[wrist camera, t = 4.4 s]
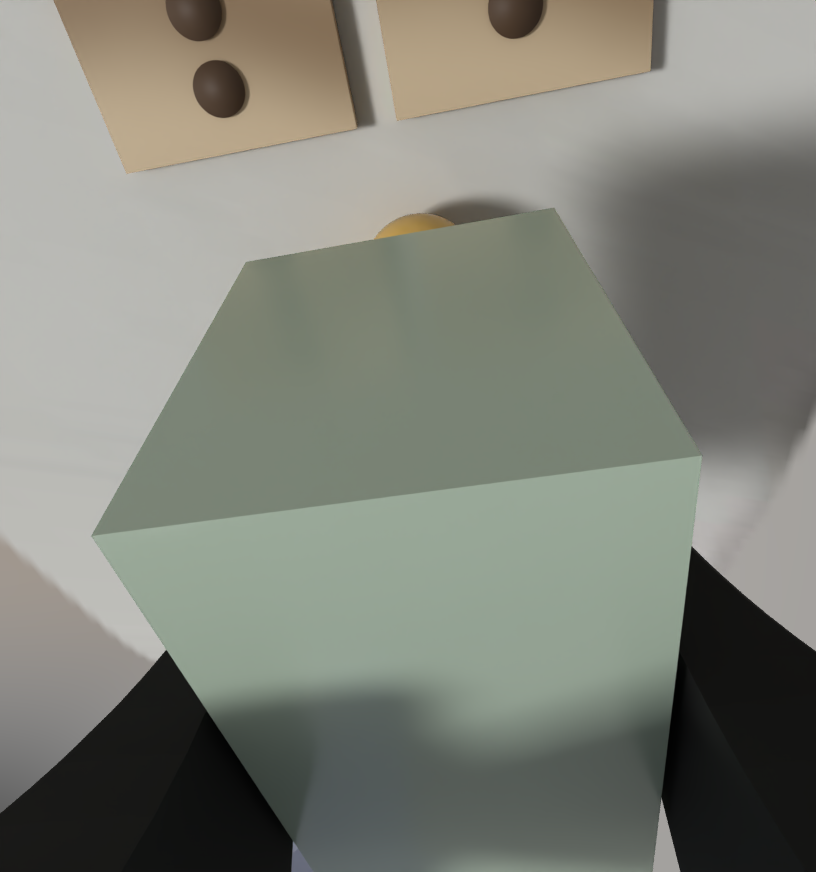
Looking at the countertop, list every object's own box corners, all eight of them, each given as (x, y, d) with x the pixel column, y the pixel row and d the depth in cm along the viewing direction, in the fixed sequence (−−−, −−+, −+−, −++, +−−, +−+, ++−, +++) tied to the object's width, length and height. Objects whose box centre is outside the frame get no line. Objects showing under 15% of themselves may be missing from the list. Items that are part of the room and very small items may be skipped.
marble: (479, 293, 19) (490, 342, 16) (378, 310, 19) (374, 360, 16) (467, 188, 17) (476, 226, 14) (355, 208, 17) (347, 249, 15)
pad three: (357, 125, 16) (356, 129, 15) (132, 169, 17) (125, 174, 16) (289, -208, 12) (284, -214, 12) (5, -135, 13) (-7, -139, 13)
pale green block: (570, 594, 16) (648, 902, 11) (366, 616, 16) (345, 920, 11) (554, 207, 10) (702, 456, 5) (245, 262, 11) (90, 536, 6)
